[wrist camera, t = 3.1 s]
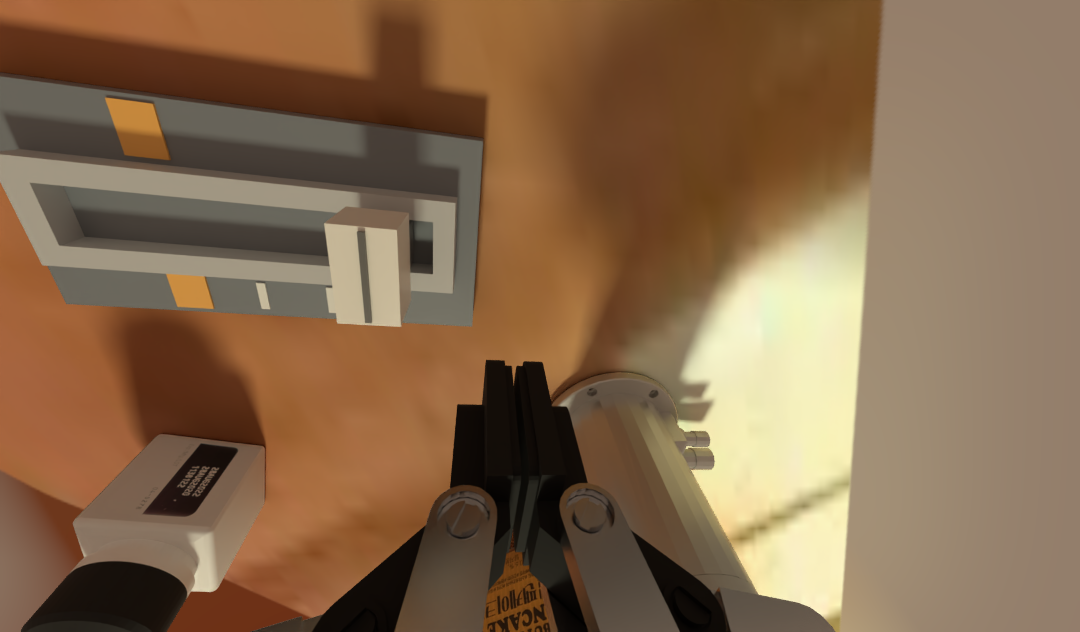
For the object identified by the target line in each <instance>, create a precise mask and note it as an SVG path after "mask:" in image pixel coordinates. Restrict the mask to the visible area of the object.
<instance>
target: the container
mask: <svg viewBox="0 0 1080 632" xmlns="http://www.w3.org/2000/svg"><path fill="white" fill-rule="evenodd" d="M264 502H265V448H264V447H263V446H259V445H251V444H243V443H235V442H226V441H218V440H210V439H202V438H193V437H185V436H177V435H169V434H159V435H158V436H156V437H155V438H154V439H153V440H152V441H151V442H150V443H149V444H148V445H147V446H146V447H145V448H144V449H143V450H142V451H141V452H140V453H139V454H138V455H137V456H136V457H135V458H134V459H133V460H132V461H131V462H130V463H129V464H128V465H127V466H126V467H125V469H124V470H123V471H122V472H121V473H120V474H119V475H118V476H117V477H116V478H115V479H114V480H113V481H112V482H111V483H110V484H109V485H108V486H107V487H106V488H105V489H104V490H103V491H102V492H101V493H100V494H99V495H98V496H97V497H96V498H95V499H94V500H93V501H92V502H91V503H90V504H89V505H88V506H87V507H86V508H85V509H84V510H83V511H82V512H81V514H79V516H78V517H77V518H76V519H75V520H74V522H73V526H74V529H75V532H76V535H77V538H78V540H79V544H80V546H81V549H82V552H83V555H84V558H83V559H82V560H81V561H80V562H79V563H78V564H77V566H76V567H75V568H74V569H73V570H72V571H71V572H70V574H69V575H68V576H67V577H66V578H65V579H64V581H63V582H62V583H61V584H60V585H59V586H58V587H57V588H56V589H55V591H54V592H53V593H52V594H51V595H50V596H49V598H48V599H47V600H46V601H45V602H44V603H43V604H42V606H41V607H40V608H39V609H38V610H37V611H36V612H35V613H34V615H33V616H32V617H31V618H30V619H29V620H28V622H26V624H25V625H24V626H23V628H22V629H21V632H167V630H168V628H169V627H170V625H171V623H172V622H173V620H174V618H175V617H176V615H177V613H178V612H179V610H180V608H181V607H182V605H183V603H184V602H185V600H186V598H187V597H188V595H189V593H190V592H191V591H204V592H212V591H214V590H216V589H217V588H218V587H219V585H220V583H221V581H222V579H223V578H224V576H225V574H226V572H227V570H228V569H229V567H230V565H231V563H232V561H233V560H234V558H235V556H236V554H237V552H238V550H239V549H240V547H241V545H242V543H243V541H244V540H245V538H246V536H247V534H248V532H249V530H250V529H251V527H252V525H253V523H254V521H255V520H256V518H257V516H258V514H259V512H260V510H261V509H262V507H263V505H264Z"/></svg>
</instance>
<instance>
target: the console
mask: <svg viewBox="0 0 1080 632" xmlns="http://www.w3.org/2000/svg"><path fill="white" fill-rule="evenodd" d="M482 154H483V138H479V137H472V136H464V135H457V134H450V133H442V132H435V131H428V130H420V129H413V128H406V127H398V126H391V125H384V124H376V123H369V122H361V121H354V120H347V119H339V118H332V117H325V116H317V115H310V114H303V113H295V112H288V111H281V110H273V109H266V108H259V107H251V106H244V105H237V104H229V103H222V102H214V101H207V100H200V99H192V98H185V97H178V96H170V95H163V94H156V93H148V92H141V91H134V90H126V89H119V88H112V87H104V86H97V85H90V84H82V83H75V82H67V81H60V80H53V79H45V78H38V77H31V76H23V75H16V74H9V73H1V72H0V182H1V184H2V186H3V188H4V190H5V192H6V194H7V196H8V198H9V200H10V202H11V204H12V206H13V208H14V210H15V212H16V214H17V216H18V218H19V220H20V222H21V224H22V226H23V228H24V230H25V232H26V234H27V236H28V238H29V240H30V242H31V244H32V246H33V248H34V250H35V252H36V254H37V256H38V257H39V259H40V261H41V263H42V265H47V266H48V268H49V270H50V272H51V274H52V276H53V278H54V280H55V282H56V284H57V286H58V288H59V290H60V292H61V294H62V296H63V298H64V300H65V302H66V304H78V305H96V306H114V307H132V308H150V309H168V310H185V311H203V312H221V313H239V314H257V315H275V316H293V317H311V318H329V319H337V318H336V311H335V303H334V295H333V288H332V280H331V272H330V265H329V257H328V249H327V242H326V234H325V226H324V223H325V222H326V221H328V220H329V219H330V218H332V217H333V216H334V215H335V214H337V213H338V212H339V211H341V210H342V209H343V208H345V207H346V206H348V207H358V208H367V209H377V210H387V211H397V212H407V213H409V220H413V245H414V261H413V264H412V266H411V268H410V279H411V301H410V304H409V307H408V309H407V312H406V315H405V317H404V320H403V322H402V323H418V324H436V325H454V326H472V319H473V304H474V287H475V270H476V254H477V237H478V220H479V204H480V187H481V170H482Z"/></svg>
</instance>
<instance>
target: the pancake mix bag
mask: <svg viewBox="0 0 1080 632" xmlns="http://www.w3.org/2000/svg"><path fill="white" fill-rule="evenodd" d="M482 632H551V630H550V626H549V622H548V618H547V614H546V610H545V606H544V602H543V598H542V594H541V587H540V581H539V580H538V579H537V578H536V577H534V576H533V575H532V574H531V573H530V571H529V566H523V558H522V552H515V549H514V547H513V548H511V549H509V553H507V554H506V560H505V566H504V572H503V574H502V576H501V577H500V578H499V579H498V580H497V581H496V583H495V584H494V585H493V586H492V587H491V588H490V590H489V591H488V592H487V600H486V608H485V615H484V623H483V631H482Z"/></svg>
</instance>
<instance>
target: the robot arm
mask: <svg viewBox="0 0 1080 632" xmlns="http://www.w3.org/2000/svg"><path fill="white" fill-rule="evenodd" d="M677 423H678V413H677V409H676V406H675V403H674V402H673V400H672V398H671V397H670V395H669V393H668V392H667V391H666V390H665V389H664V387H663V386H662V385H660V384H659V383H657V382H656V381H655V380H653V379H650V378H648V377H646V376H643V375H639V374H634V373H624V372H616V373H607V374H602V375H598V376H594V377H591V378H588V379H586V380H584V381H581V382H579V383H577V384H575V385H574V386H572V387H571V388H569V389H567V390H566V391H565V392H564V393H562V394H561V395H560V396H559V397H558V398H557V399H556V400H555V401H554V402H553V404H551V399H550V395H549V390H548V385H547V381H546V376H545V371H544V367H543V363H542V362H527V361H524V362H523V366H517V367H516V373H515V380H514V386H513V375H512V366H505V361H500V360H486V365H485V377H484V389H483V401H482V405H459V404H458V405H457V415H456V426H455V438H454V449H453V461H452V472H451V484H450V489H448V490H447V491H445V492H444V493H442V494H441V495H440V496H439V497H438V498H437V499H436V500H435V502H434V504H433V506H432V508H431V510H430V513H429V517H428V520H427V523H426V525H425V526H424V527H423V528H422V529H421V530H420V531H418V532H417V533H416V534H415V535H414V536H413V537H411V538H410V539H409V540H408V541H407V542H406V543H404V544H403V545H402V546H401V547H400V548H399V549H397V550H396V551H395V552H394V553H393V554H392V555H390V556H389V557H388V558H387V559H386V560H385V561H383V562H382V563H381V564H380V565H379V566H378V567H376V568H375V569H374V570H373V571H372V572H370V573H369V574H368V575H367V576H366V577H365V578H363V579H362V580H361V581H360V582H359V583H358V584H356V585H355V586H354V587H353V588H352V589H351V590H349V591H348V592H347V593H346V594H345V595H344V596H342V597H341V598H340V599H339V600H338V601H337V602H335V603H334V604H333V605H332V606H331V607H330V608H329V609H328V610H327V611H326V612H325V613H324V614H323V615H319V616H316V617H313V618H310V619H307V620H303V618H302V616H301V617H297V618H294V619H291V620H288V621H284V622H281V623H278V624H274V625H271V626H268V627H265V628H261V629H258V630H255V631H252V632H482V631H483V623H484V615H485V608H486V600H487V592H488V591H489V590H490V588H491V587H492V586H493V585H494V584H495V583H496V581H497V580H498V579H499V578H500V577H501V576H502V574H503V572H504V566H505V560H506V554H507V553H509V549H510V543H511V537H512V531H513V536H514V549H515V552H522V558H523V566H529V571H530V573H531V574H532V575H533V576H534V577H536V578H537V579H538V580H539V581H540V587H541V594H542V598H543V602H544V606H545V610H546V614H547V618H548V622H549V626H550V630H551V632H835V631H834V629H833V627H832V626H831V625H830V624H829V623H828V622H827V621H826V620H825V619H824V618H823V617H822V616H821V615H820V614H818V613H817V612H816V611H814V610H813V609H811V608H810V607H808V606H805V605H802V604H800V603H796V602H791V601H786V600H781V599H777V598H772V597H767V596H762V595H758V593H757V591H756V589H755V587H754V585H753V584H752V582H751V580H750V578H749V576H748V574H747V572H746V571H745V569H744V567H743V565H742V563H741V561H740V560H739V558H738V556H737V554H736V552H735V550H734V549H733V547H732V545H731V543H730V541H729V539H728V538H727V536H726V534H725V532H724V530H723V528H722V527H721V525H720V523H719V521H718V519H717V517H716V516H715V514H714V512H713V510H712V508H711V506H710V504H709V503H708V501H707V499H706V497H705V495H704V493H703V492H702V490H701V488H700V486H699V484H698V482H697V481H696V479H695V477H694V475H693V473H692V471H691V470H710V469H712V468H713V467H714V462H715V461H714V456H713V453H712V451H711V450H710V449H709V448H688V449H685V448H686V446H692V447H708V446H709V444H710V437H709V435H708V433H707V432H706V431H691V432H684V430H683V429H681V428H679V426H678V424H677ZM690 469H691V470H690Z"/></svg>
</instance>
